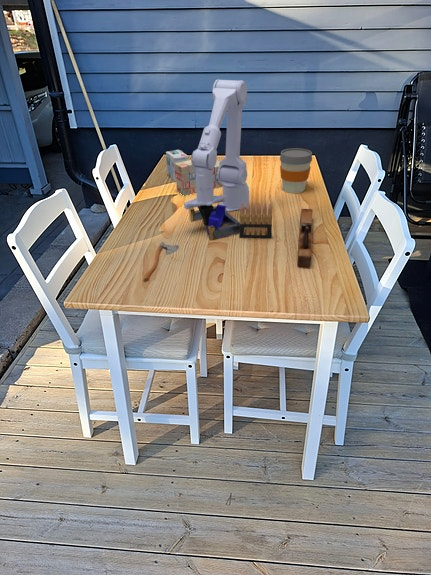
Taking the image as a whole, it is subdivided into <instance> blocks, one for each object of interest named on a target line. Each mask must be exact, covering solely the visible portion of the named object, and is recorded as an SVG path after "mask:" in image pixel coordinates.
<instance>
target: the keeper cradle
mask: <svg viewBox="0 0 431 575" xmlns="http://www.w3.org/2000/svg"><path fill="white" fill-rule="evenodd" d="M216 208H217V205H216V206H214V210H213V211H214V212H216ZM213 211H212V212H213ZM188 215H189V221H190V222H194V221H195V222H196V221H200V220H203V218H202V215H201V213H200V211H199V209H197V210H195V207H194V208H189V209H188ZM223 223H225V224H227V225H225V226H221V227H220V228H217V229H215V227H214V226H213V225H211V226H207V230H208V229H209V235H208V239H209V241H213V240H214V241H215V240H219V239H222V238H225V237H230V236H234V235H237V234H239V233H240V220H239V221H238V219H237V218H235V217H233V216H232V215H231V214H230V213H229V212H228V211H226V210H225V216H224V222H223Z"/></svg>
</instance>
